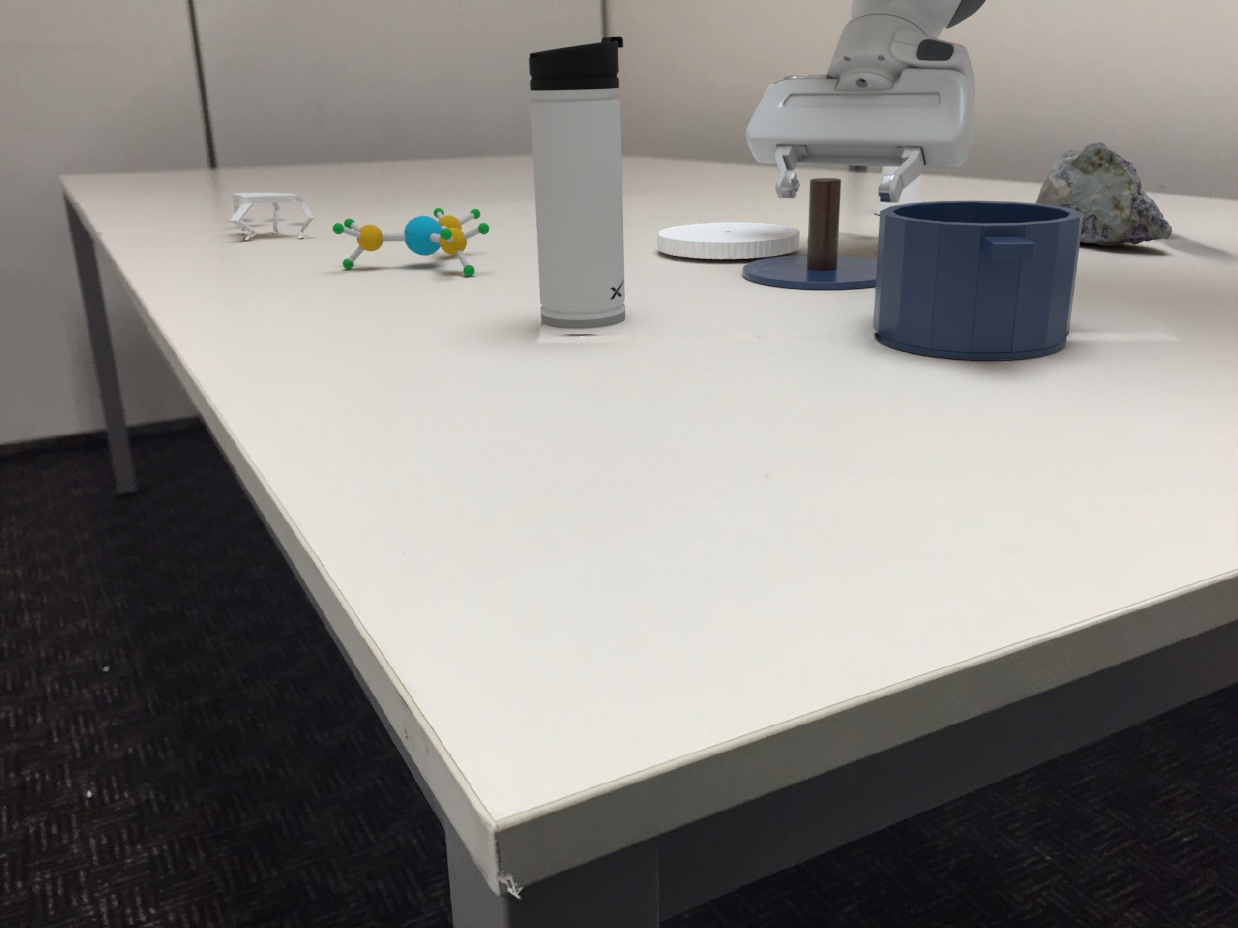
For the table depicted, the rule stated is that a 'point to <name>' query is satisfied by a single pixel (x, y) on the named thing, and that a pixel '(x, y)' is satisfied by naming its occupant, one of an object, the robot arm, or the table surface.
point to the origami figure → (266, 197)
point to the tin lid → (817, 251)
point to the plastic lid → (728, 240)
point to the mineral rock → (1104, 197)
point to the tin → (976, 278)
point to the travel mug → (578, 184)
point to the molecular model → (418, 236)
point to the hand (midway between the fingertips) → (834, 196)
